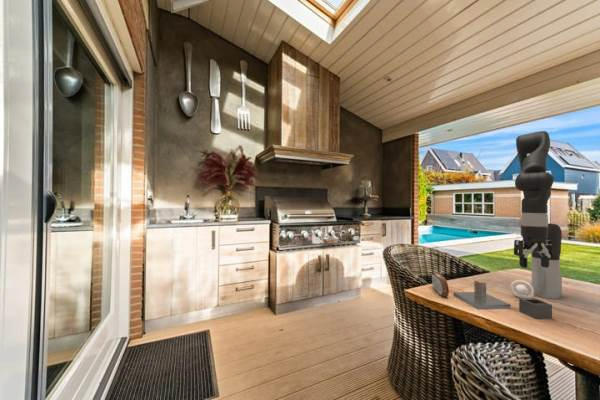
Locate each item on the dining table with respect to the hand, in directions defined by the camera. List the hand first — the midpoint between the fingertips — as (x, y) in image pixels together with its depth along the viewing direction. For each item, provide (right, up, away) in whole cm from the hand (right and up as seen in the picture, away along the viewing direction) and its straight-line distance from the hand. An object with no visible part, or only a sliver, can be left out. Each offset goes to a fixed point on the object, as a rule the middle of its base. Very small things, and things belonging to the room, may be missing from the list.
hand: (534, 267), depth 93 cm
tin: (-23, -19, +22) cm, 37 cm away
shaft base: (-12, -18, +12) cm, 25 cm away
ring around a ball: (+9, -18, +15) cm, 26 cm away
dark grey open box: (0, -18, 0) cm, 18 cm away
